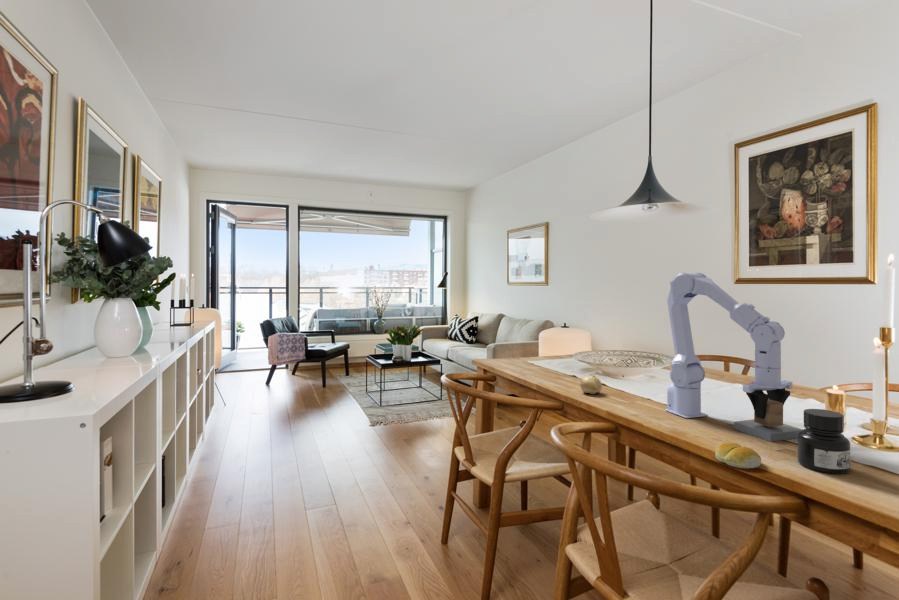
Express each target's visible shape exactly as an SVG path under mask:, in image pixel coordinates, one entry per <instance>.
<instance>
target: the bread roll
mask: <svg viewBox="0 0 899 600" xmlns="http://www.w3.org/2000/svg"><path fill="white" fill-rule="evenodd" d="M714 455H715V459H716V460H717V461H719V462H720V463H724V464H726V465H728V466H730V467H733V468H739V469H746V470H747V469H748V470H749V469H756V468H759V467H760V466H761V465H762V457H761V455H759V453H758V452H756V451H755V450H754V449H753V448H751V447H747V446H743V445H741V444H739V443H736V442H735V443H734V442H723V443H720V444H718V445H717V447H716V448H715V450H714Z"/></svg>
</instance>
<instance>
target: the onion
mask: <svg viewBox="0 0 899 600" xmlns="http://www.w3.org/2000/svg"><path fill="white" fill-rule="evenodd" d="M579 385H580V389H581V391H582V393H583V392H585V393H584V394H586V393H590V394H589V395H593V394H594V395H596V394H599V393H601V391H602V389H603V384H602V382H601V380H600V379H599V378H598V377H596V375H595V374H591V373H590V376H586V377H583V378H582V380H581V381H580V383H579Z"/></svg>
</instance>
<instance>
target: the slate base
mask: <svg viewBox="0 0 899 600" xmlns="http://www.w3.org/2000/svg"><path fill="white" fill-rule="evenodd" d="M733 430H735V431H736V430H737V431H740V432H741V433H744V434H748V435H751V436H752V437H756V438H759V439H762V440H764V441H766V442H767V441H768V442H770V443H772V442H779V441H787V440H794V438H795V439H798V434H799V432H801V431H803V430H804V429H803V428H800V427H796V426H794V425H793V426H792V425H789V424H787V423H783V425H781V426H773V427H768V426H765V425H762V424H759V423H756V422H754V419H747V420H738V421H737V420H735V421H733Z"/></svg>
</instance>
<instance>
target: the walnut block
mask: <svg viewBox="0 0 899 600" xmlns="http://www.w3.org/2000/svg"><path fill="white" fill-rule="evenodd" d="M753 411H754V410H753ZM753 415H754V422H756V423H759V424H762V425H765V426H768V427H773V426H781V425H783V424H784V405H783V403H781V402H777V401H774V400H770V399H768V401H767V405H766V415H765V419H762V418H758V417H756V415H755V411H754V414H753Z"/></svg>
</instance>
